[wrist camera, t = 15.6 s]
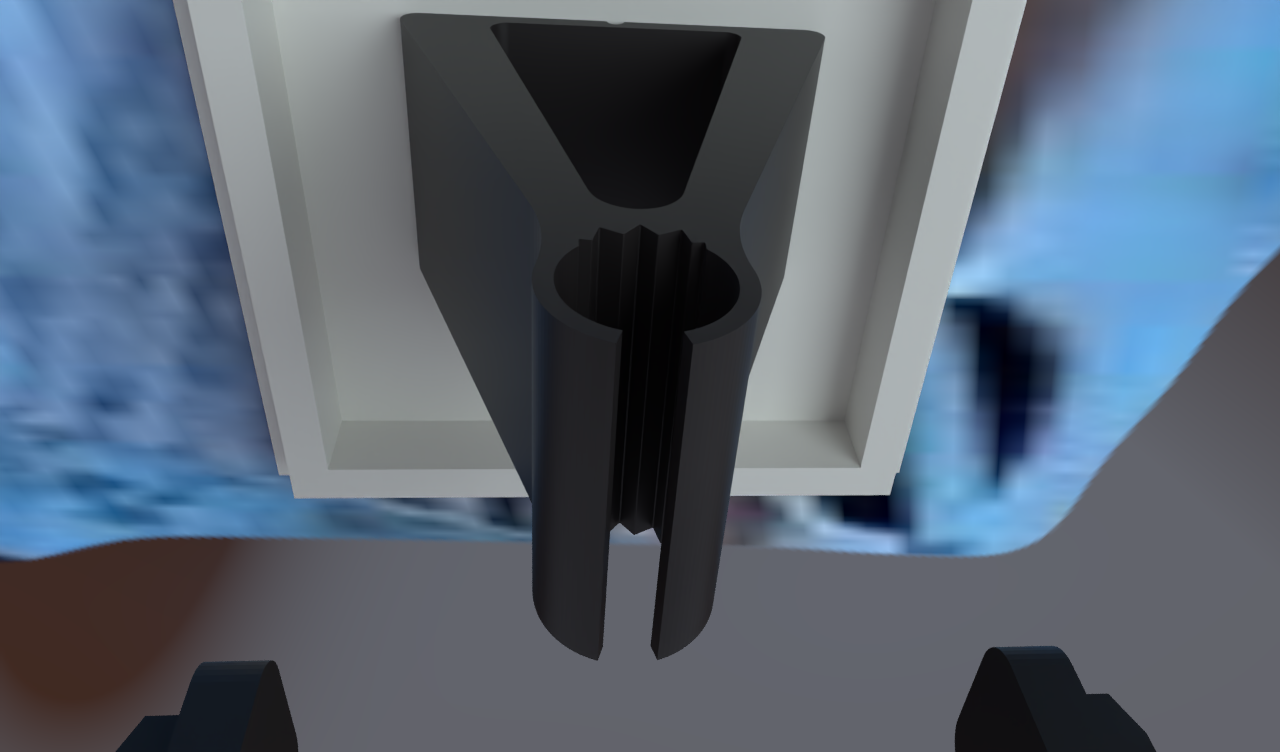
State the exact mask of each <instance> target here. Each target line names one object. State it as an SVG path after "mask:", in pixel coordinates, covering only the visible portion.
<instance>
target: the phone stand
mask: <svg viewBox="0 0 1280 752" xmlns="http://www.w3.org/2000/svg"><path fill="white" fill-rule="evenodd" d="M400 26H401V39H402V51H403V64H404V77H405V89H406V102H407V115H408V127H409V140H410V152H411V165H412V178H413V190H414V203H415V215H416V228H417V241H418V253H419V266H420V270H421V272H422V274H423V276H424V278H425V280H426V282H427V285H428V287H429V289H430V291H431V293H432V295H433V297H434V299H435V301H436V303H437V306H438V308H439V310H440V312H441V314H442V316H443V318H444V320H445V322H446V324H447V326H448V329H449V331H450V333H451V335H452V337H453V339H454V341H455V343H456V345H457V347H458V350H459V352H460V354H461V356H462V358H463V360H464V362H465V364H466V366H467V368H468V370H469V373H470V375H471V377H472V379H473V381H474V383H475V385H476V387H477V389H478V391H479V393H480V396H481V398H482V400H483V402H484V404H485V406H486V408H487V410H488V412H489V414H490V417H491V419H492V421H493V423H494V425H495V427H496V429H497V431H498V433H499V435H500V437H501V440H502V442H503V444H504V446H505V448H506V450H507V452H508V454H509V456H510V458H511V461H512V463H513V465H514V467H515V469H516V471H517V473H518V475H519V477H520V479H521V481H522V484H523V486H524V488H525V490H526V492H527V494H528V496H529V498H530V500H531V502H532V592H533V601H534V605H535V608H536V611H537V614H538V616H539V618H540V620H541V621H542V623H543V625H544V626H545V627H546V629H547V630H548V631H549V632H550V633H551V634H552V636H554V637H555V638H556V639H557V640H558V641H559V642H560V643H562V644H563V645H565V646H566V647H567V648H569V649H571V650H573V651H574V652H577V653H578V654H580V655H583V656H585V657H588V658H591V659H594V660H598V658H599V655H600V653H601V650H602V647H603V633H604V619H605V618H604V617H605V603H606V586H607V570H608V554H609V539H610V531H611V530H612V529H613V528H614V527H615V526H616V525H617V524H618V523H621V524H622V525H623V526H624V527H626V528H627V529H628V530H629V531H630V532H631V533H632V534H634V535H635V534H638V533H640V532H643V531H645V530H647V529H650V528H654V531H655V533H656V535H657V537H658V539H659V541H660V543H661V553H660V562H659V572H658V581H657V590H656V600H655V609H654V618H653V628H652V637H651V648H652V650H653V652H654V654H655V656H656V658H657V660H659V659H662V658H665V657H668V656H670V655H672V654H674V653H676V652H678V651H680V650H681V649H683V648H684V647H686V646H687V645H688V644H690V643H691V642H692V641H693V640H694V639H695V638H696V637H697V636H698V635H699V634H700V632H701V631H702V630H703V628H704V627H705V625H706V623H707V621H708V619H709V617H710V614H711V611H712V606H713V601H714V594H715V588H716V582H717V575H718V569H719V562H720V556H721V549H722V544H723V537H724V531H725V525H726V518H727V512H728V506H729V499H730V493H731V487H732V480H733V474H734V467H735V461H736V455H737V448H738V442H739V436H740V429H741V423H742V417H743V410H744V404H745V398H746V391H747V385H748V379H749V375H750V372H751V369H752V366H753V363H754V361H755V358H756V355H757V352H758V349H759V346H760V344H761V341H762V338H763V335H764V332H765V330H766V327H767V324H768V321H769V318H770V316H771V313H772V310H773V307H774V304H775V301H776V299H777V296H778V293H779V290H780V287H781V285H782V282H783V279H784V275H785V269H786V263H787V257H788V252H789V246H790V240H791V234H792V228H793V222H794V217H795V211H796V205H797V199H798V193H799V187H800V182H801V176H802V170H803V164H804V158H805V152H806V147H807V141H808V135H809V129H810V123H811V117H812V112H813V106H814V100H815V94H816V88H817V82H818V77H819V71H820V65H821V59H822V53H823V47H824V42H825V36H824V35H823V34H821V33H818V32H815V31H810V30H796V29H773V28H750V27H728V26H705V25H682V24H660V23H637V22H624V23H623V24H610V23H608V22H607V21H592V20H569V19H547V18H524V17H501V16H479V15H456V14H433V13H410V14H405V15H403V16H401V17H400Z"/></svg>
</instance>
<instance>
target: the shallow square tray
mask: <svg viewBox="0 0 1280 752" xmlns="http://www.w3.org/2000/svg"><path fill="white" fill-rule="evenodd" d="M1026 1H1027V0H173V3H174V8H175V12H176V17H177V21H178V26H179V30H180V35H181V39H182V44H183V48H184V52H185V57H186V61H187V66H188V70H189V75H190V79H191V84H192V88H193V93H194V97H195V102H196V106H197V111H198V115H199V119H200V124H201V128H202V133H203V137H204V142H205V146H206V151H207V155H208V160H209V164H210V169H211V173H212V178H213V182H214V186H215V191H216V195H217V200H218V204H219V209H220V213H221V218H222V222H223V227H224V231H225V236H226V240H227V244H228V249H229V253H230V258H231V262H232V267H233V271H234V276H235V280H236V285H237V289H238V294H239V298H240V303H241V307H242V311H243V316H244V320H245V325H246V329H247V334H248V338H249V343H250V347H251V352H252V356H253V361H254V365H255V370H256V374H257V378H258V383H259V387H260V392H261V396H262V401H263V405H264V410H265V414H266V419H267V423H268V428H269V432H270V436H271V441H272V445H273V450H274V454H275V459H276V463H277V468H278V472H279V475H290V480H291V484H292V489H293V494H294V498H437V497H529V496H528V494H527V492H526V490H525V488H524V486H523V484H522V481H521V479H520V477H519V475H518V473H517V471H516V469H515V467H514V465H513V463H512V461H511V458H510V456H509V454H508V452H507V450H506V448H505V446H504V444H503V442H502V440H501V437H500V435H499V433H498V431H497V429H496V427H495V425H494V423H493V421H492V419H491V417H490V414H489V412H488V410H487V408H486V406H485V404H484V402H483V400H482V398H481V396H480V393H479V391H478V389H477V387H476V385H475V383H474V381H473V379H472V377H471V375H470V373H469V370H468V368H467V366H466V364H465V362H464V360H463V358H462V356H461V354H460V352H459V350H458V347H457V345H456V343H455V341H454V339H453V337H452V335H451V333H450V331H449V329H448V326H447V324H446V322H445V320H444V318H443V316H442V314H441V312H440V310H439V308H438V306H437V303H436V301H435V299H434V297H433V295H432V293H431V291H430V289H429V287H428V285H427V282H426V280H425V278H424V276H423V274H422V272H421V270H420V266H419V253H418V241H417V228H416V215H415V203H414V190H413V178H412V165H411V152H410V140H409V127H408V115H407V102H406V89H405V77H404V64H403V51H402V39H401V26H400V17H401V16H403V15H405V14H410V13H433V14H456V15H479V16H501V17H524V18H547V19H569V20H592V21H607V22H608V23H610V24H623V23H624V22H637V23H660V24H682V25H705V26H728V27H750V28H773V29H796V30H810V31H815V32H818V33H821V34H823V35H824V36H825V42H824V47H823V53H822V59H821V65H820V71H819V77H818V82H817V88H816V94H815V100H814V106H813V112H812V117H811V123H810V129H809V135H808V141H807V147H806V152H805V158H804V164H803V170H802V176H801V182H800V187H799V193H798V199H797V205H796V211H795V217H794V222H793V228H792V234H791V240H790V246H789V252H788V257H787V263H786V269H785V275H784V279H783V282H782V285H781V287H780V290H779V293H778V296H777V299H776V301H775V304H774V307H773V310H772V313H771V316H770V318H769V321H768V324H767V327H766V330H765V332H764V335H763V338H762V341H761V344H760V346H759V349H758V352H757V355H756V358H755V361H754V363H753V366H752V369H751V372H750V375H749V379H748V385H747V391H746V398H745V404H744V410H743V417H742V423H741V429H740V436H739V442H738V448H737V455H736V461H735V467H734V474H733V480H732V487H731V493H730V496H780V495H890V492H891V489H892V485H893V481H894V477H895V474H896V473H899V470H900V467H901V463H902V459H903V456H904V452H905V448H906V445H907V441H908V437H909V433H910V430H911V426H912V422H913V419H914V415H915V411H916V408H917V404H918V400H919V397H920V393H921V389H922V385H923V382H924V378H925V374H926V371H927V367H928V363H929V360H930V356H931V352H932V348H933V345H934V341H935V337H936V334H937V330H938V326H939V323H940V319H941V315H942V312H943V308H944V304H945V300H946V297H947V293H948V289H949V286H950V282H951V278H952V275H953V271H954V267H955V264H956V260H957V256H958V252H959V249H960V245H961V241H962V238H963V234H964V230H965V227H966V223H967V219H968V216H969V212H970V208H971V204H972V201H973V197H974V193H975V190H976V186H977V182H978V179H979V175H980V171H981V167H982V164H983V160H984V156H985V153H986V149H987V145H988V142H989V138H990V134H991V131H992V127H993V123H994V119H995V116H996V112H997V108H998V105H999V101H1000V97H1001V94H1002V90H1003V86H1004V83H1005V79H1006V75H1007V71H1008V68H1009V64H1010V60H1011V57H1012V53H1013V49H1014V46H1015V42H1016V38H1017V35H1018V31H1019V27H1020V23H1021V20H1022V16H1023V12H1024V9H1025V5H1026Z"/></svg>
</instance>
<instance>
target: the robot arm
mask: <svg viewBox="0 0 1280 752" xmlns="http://www.w3.org/2000/svg"><path fill="white" fill-rule="evenodd" d="M116 752H298V743H297V737H296V732H295V728H294V725H293V721H292V717H291V714H290V710H289V706H288V702H287V699H286V695H285V691H284V688H283V684H282V680H281V676H280V673H279V669H278V666H277V664H276V662H274V661H227V662H226V661H225V662H203V663H201V664H200V665H199V666H198V668H197V669H196V671H195V673H194V675H193V677H192V680H191V682H190V685H189V688H188V691H187V694H186V697H185V700H184V702H183V705H182V708H181V711H180V714H179V715H172V716H171V715H168V716H145V717H144V718H143V719H142V721H141V722H140V723H139V724H138V726H137V727H136V728H135V729H134V730H133V731H132V733H131V734H130V735H129V736H128V737H127V739H126V740H125V741H124V742H123V743H122V745H121V746H120V747H119V748H118V750H117V751H116ZM955 752H1156V750H1155V749H1154V747H1153V745H1152V743H1151V741H1150V739H1149V737H1148V735H1147V734H1146V732H1145V731H1144V730H1143V729H1142V728H1141V727H1140V726H1139V725H1138V724H1137V723H1136V722H1135V721H1134V720H1133V719H1132V718H1131V717H1130V716H1129V715H1128V714H1127V713H1126V712H1125V711H1124V710H1123V709H1122V708H1121V707H1120V705H1119V704H1118V703H1117V702H1116V701H1115V700H1114V699H1113V698H1112V697H1111V696H1110V695H1109V694H1086V693H1085V690H1084V688H1083V686H1082V684H1081V682H1080V680H1079V678H1078V676H1077V674H1076V672H1075V670H1074V668H1073V666H1072V664H1071V662H1070V660H1069V658H1068V657H1067V655H1066V654H1065V653H1064V652H1063V651H1062V650H1061V649H1060V648H1058V647H1055V646H1028V647H992V648H990V649H988V650H987V651H986V653H985V655H984V657H983V659H982V661H981V664H980V666H979V669H978V671H977V674H976V676H975V679H974V681H973V683H972V686H971V688H970V691H969V693H968V696H967V698H966V701H965V703H964V706H963V708H962V710H961V713H960V715H959V718H958V721H957V724H956V730H955Z"/></svg>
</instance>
